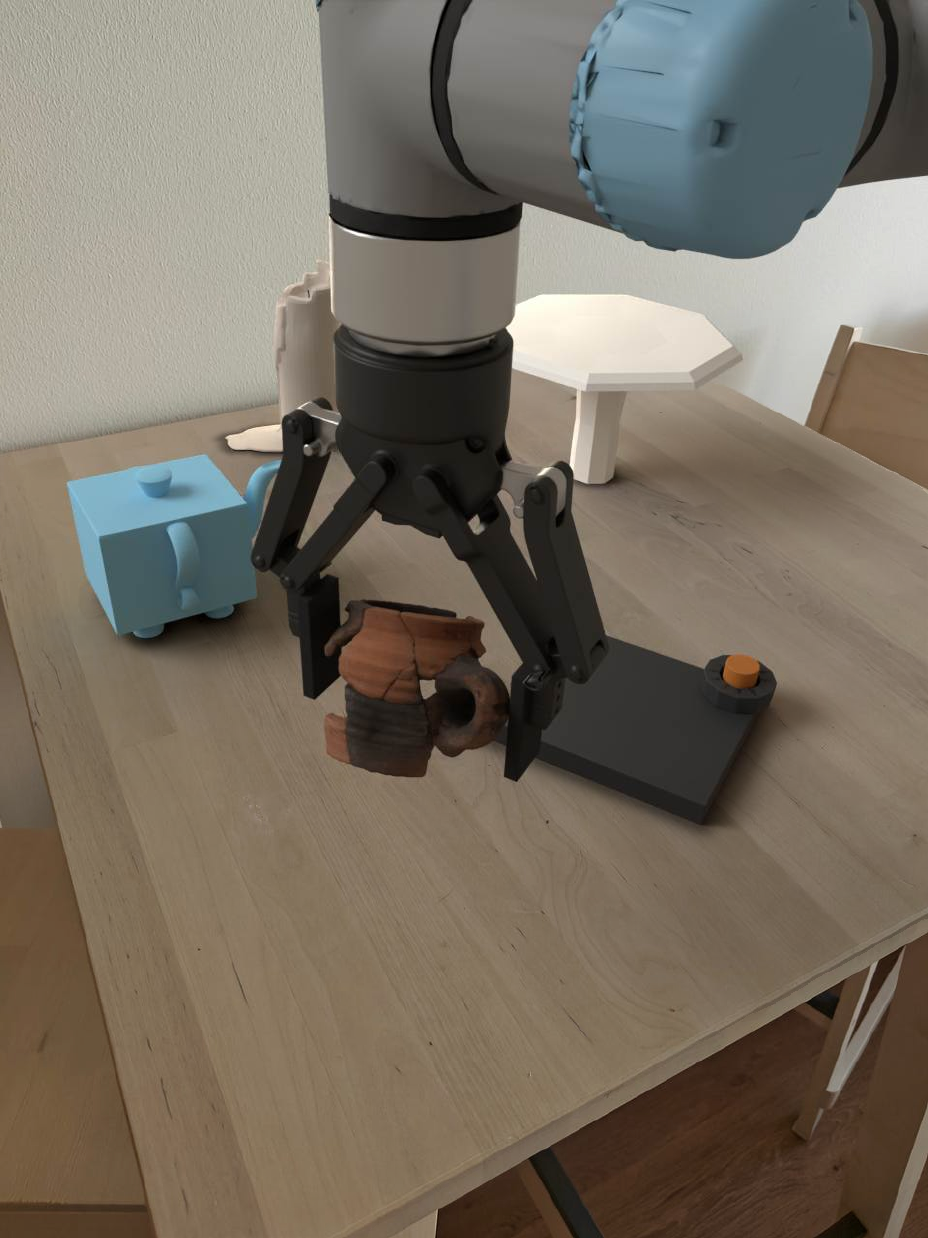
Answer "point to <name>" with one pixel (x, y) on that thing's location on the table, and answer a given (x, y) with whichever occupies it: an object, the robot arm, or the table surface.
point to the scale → (654, 727)
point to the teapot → (168, 541)
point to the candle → (299, 355)
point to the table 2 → (613, 360)
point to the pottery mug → (411, 688)
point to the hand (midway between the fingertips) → (418, 723)
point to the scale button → (741, 671)
